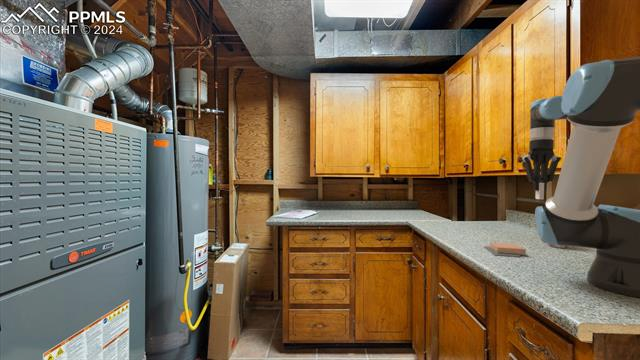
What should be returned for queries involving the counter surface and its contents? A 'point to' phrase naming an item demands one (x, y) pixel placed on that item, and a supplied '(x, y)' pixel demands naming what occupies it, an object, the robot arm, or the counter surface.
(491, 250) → the mat
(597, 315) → the counter surface
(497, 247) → the tile
